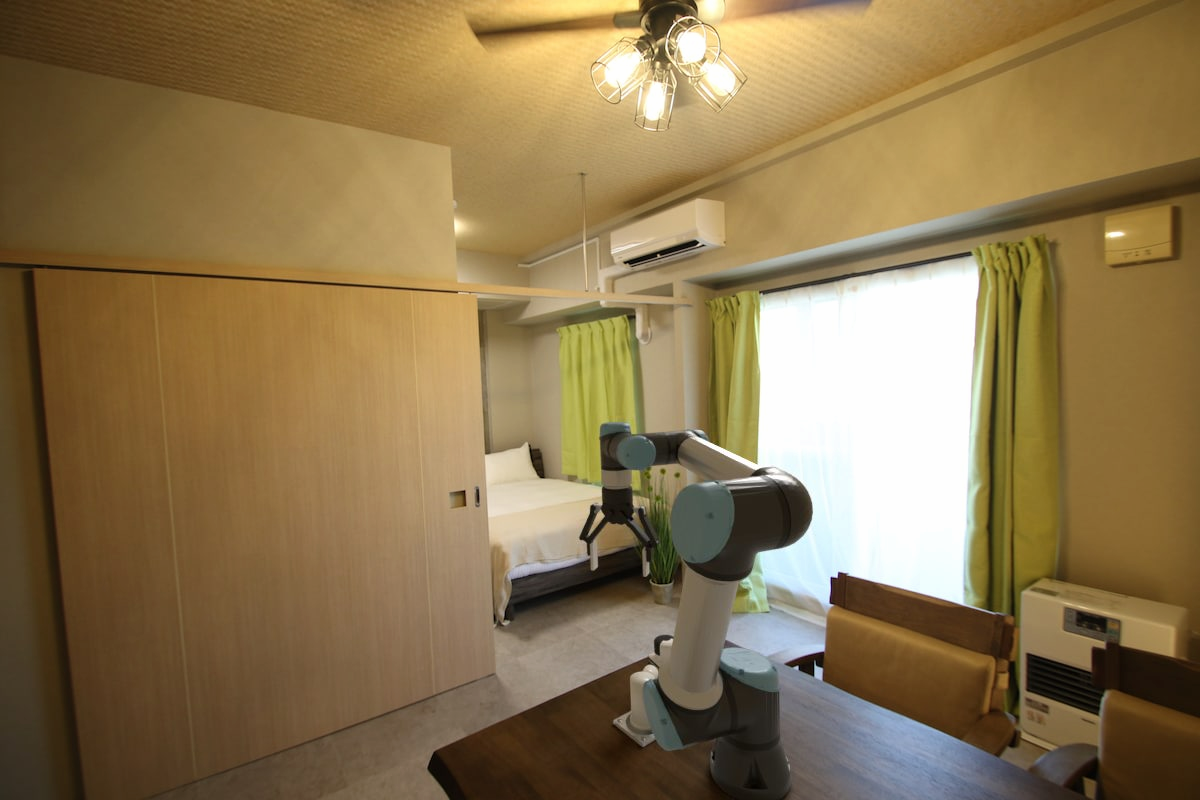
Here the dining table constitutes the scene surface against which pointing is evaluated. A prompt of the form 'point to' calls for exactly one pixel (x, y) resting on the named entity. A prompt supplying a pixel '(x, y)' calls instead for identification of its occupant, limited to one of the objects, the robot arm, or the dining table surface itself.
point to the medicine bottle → (660, 650)
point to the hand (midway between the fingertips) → (619, 571)
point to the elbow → (640, 697)
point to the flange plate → (633, 730)
